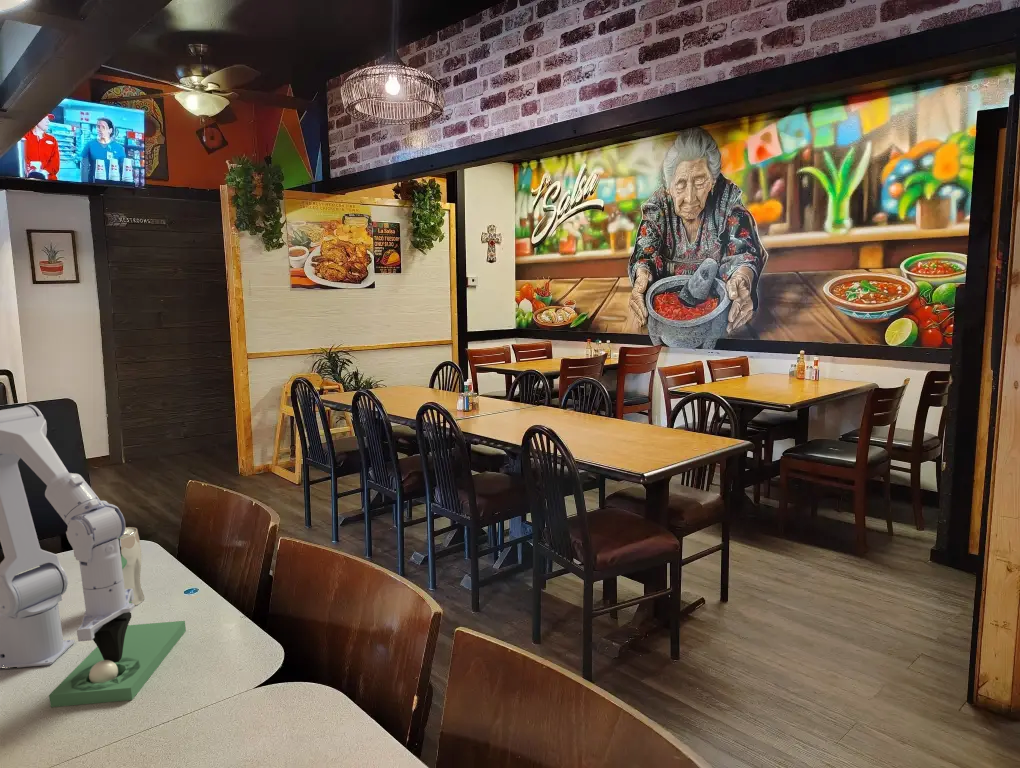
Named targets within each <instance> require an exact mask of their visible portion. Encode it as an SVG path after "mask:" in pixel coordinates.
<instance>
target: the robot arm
mask: <svg viewBox="0 0 1020 768" xmlns="http://www.w3.org/2000/svg"><path fill="white" fill-rule="evenodd" d="M47 424H48V423H47V420H46V418H45V416H44V414H42V412H41V411H40V409H39V408H38V407H37V406H35V405H33V404H25V405H24V406H18V407H12V408H7V409H6V408H5V409H1V410H0V545H1V548H2V553H3V555H4V558H3V560H2V561H1V562H0V668H2V667H5V669H7V668H6V667H9V668H8V669H11V668H10V667H17V668H27V667H29V668H30V667H39V666H50V665H53V663H55V661H56V660H57V659H58V658H60V657H61V656H62V655H63V654H64V653H65V652H66V651H67V650H68V649H69V648H70V647H71V646H73V644H75V643H76V640H75V639H68V640H67V639H64V636H63V630H62V629H63V628H62V622H61V614H60V607H59V602H62V601H63V595H64V594H65V593H66V592H67V589H68V584H69V581H68V575H67V572H66V570H65V569H64V567H63V566H62V564H61V562H60V559H59V557H58V555H57V554H56V553H53V552H50V551H47V550H44V549H42V548H41V546H40V543H39V539H38V535H37V532H36V528H35V524H34V520H33V516H32V513H31V509H30V506H29V502H28V497H27V494H26V490H25V486H24V483H23V480H22V476H21V472H20V468H19V460H22V461H23V463H25V464H26V465H27V466H28V467H29V468H30V469H31V471H32V472H33V473H35V475H36V476H37V477H38V478H39V479H40V480H41V481H42V482H43V483H44V484H45V485H46V487H45V491H44V497H45V498H46V500H47V501H48V502H49V504H51V506H52V507H53V509H54V510H55V511H56V513H57V514H58V515H59V516H60V518H61V519H62V520H63V522H64V523H65V524H66V525H67V528H66V529H67V530H66V531H65V534H66V538H67V540H68V543H69V544H70V546H71V548H72V550H73V557H75V560H76V561H78V562H79V570H80V578H81V585H82V590H83V600H84V608H85V612H84V614H83V617H82V620H81V623H80V626H79V627H78V628H77V629H76V636H77V642H87V641H93V642H94V644H95V645H96V647H97V646H98V648H99V650H100V652H101V654H102V657H103V659H104V660H110V661H112V662H119V661H120V659H121V658H122V653H123V645H124V638H125V633H126V630H127V626H128V625H130V621H131V618H132V611H133V610H134V609H135V606H134V604H133V603H129V602H131V601H132V600H134V593H133V589H125V586H124V579H123V570H122V562H121V554H120V546H119V539H118V538H120V537H122V536H123V534H124V532H125V527H126V520H125V517H124V515H123V513H122V511H121V510H120V508H119V507H118V506H117V505H115V504H112V503H109V502H108V501H107V500H100V498H99V497H98V495H97V494H96V493H95V491H94V490H93V488H92V487H91V486H90V485H89V484H88V483H87V481H85V479H84V477H83V476H82V475H81V474H79V473H74V472H73V473H72V472H69V471H68V469H67V467H66V466H65V465H64V463H63V461H62V460H61V458H60V457H59V455H58V453H57V452H56V450H55V449H54V447H53V446H52V444H51V442H50V440H49V439H48V437H47V431H48V427H47ZM3 665H4V666H3Z"/></svg>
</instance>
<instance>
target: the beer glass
mask: <svg viewBox="0 0 1020 768" xmlns="http://www.w3.org/2000/svg"><path fill="white" fill-rule="evenodd" d="M118 539H119V546H120V554H121V562H122V570H123V579H124V586H125V589H133V593H134V600H132V601H131V602H129V603H133V604H134V607H135V606H138V605H140V604H141V603H143V602H144V600H145V594H144V591H143V588H142V585H141V584H142V583H141V571H142V570H141V569H142V547H141V546H142V545H141V540H140V536H139V531H138V528H137V527H133V526H132V527H131V526H128V527H125V532H124V534H123V536H122V537H120V538H118Z"/></svg>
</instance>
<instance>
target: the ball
mask: <svg viewBox="0 0 1020 768" xmlns="http://www.w3.org/2000/svg"><path fill="white" fill-rule="evenodd" d="M117 674H118V667H117V665H116V664H115V663H114V662H112V661H110V660H103V661H100V662H98V663H96V664H95V665H94V666H93V667H92V669H91V670H90V673H89V679H90V681H91V683H92V684H94V683H103V682H107V681H110V680H113V679H115V678H117V677H118V676H117Z"/></svg>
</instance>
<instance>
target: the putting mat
mask: <svg viewBox="0 0 1020 768" xmlns="http://www.w3.org/2000/svg"><path fill="white" fill-rule="evenodd" d="M186 632H187V627H186V620H178V621H176V620H175V621H167V622H166V621H164V622H153V623H141V624H140V623H139V624H128V626H127V630H126V633H125V638H124V645H123V653H122V658H121V659H120V661H119V662H114V663H115V664H116V665H117V667H118V674H117V677H116V678H115V679H113V680H110V681H107V682H103V683H94V684H92V683H91V681H90V679H89V673H90V670H91V669H92V667H93V666H94V665H95V664H96V663H98V662H100V661H103V660H104V659H103V657H102V654H101V652H100V650H99V648H98V646H97V645H96V647H95V648H94V649H93V651H91V652H90V653H89V654H88V655H87V656H86V657H85V658H84V659H83V661H81V662H80V663H79V664H78V665H77V666H76V667H75V668H74V669H73V671H71V672H70V673H69V675H67V676H65V678H64V679H63V680H62V682H60V683H59V685H57V686H56V687H55V688H54V689H53V691H52V692H50V693H49V695H48V698H49V703H50V704H49V705H50V708H59V707H67V706H79V705H90V704H104V703H112V702H113V703H114V702H123V701H133V700H134V699H135V697H136V696H137V694H138V693H139V692H140V691H141V690H142V688H143V687H144V685H146V683H147V681H148V680H149V679H150V678H151V677H152V675H153V674H154V672H155V671H156V670H157V669H158V668H159V666H160V665H161V664H162V663H163V661H164V660H165V659H166V657H167V656H168V654H169V653H170V652H171V651H172V650H173V648H174V647H175V646H176V644H178V643H179V640H180V639H181V638H182V636H183V635H184V634H185V633H186ZM177 642H178V643H177Z"/></svg>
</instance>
